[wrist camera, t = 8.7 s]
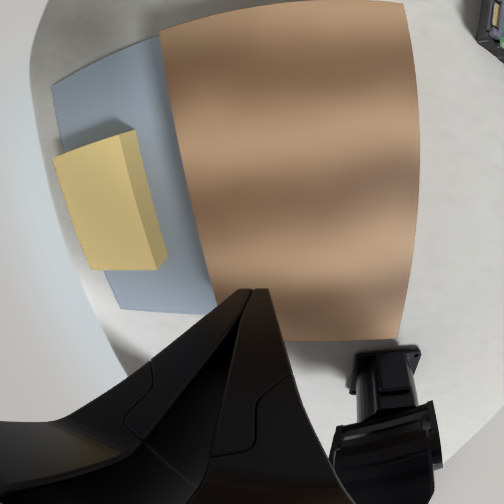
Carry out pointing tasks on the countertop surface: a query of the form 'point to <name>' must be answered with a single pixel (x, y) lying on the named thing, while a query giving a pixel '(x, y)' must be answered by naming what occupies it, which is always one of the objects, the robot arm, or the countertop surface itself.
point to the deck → (303, 158)
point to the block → (111, 204)
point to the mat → (155, 165)
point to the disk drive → (492, 27)
